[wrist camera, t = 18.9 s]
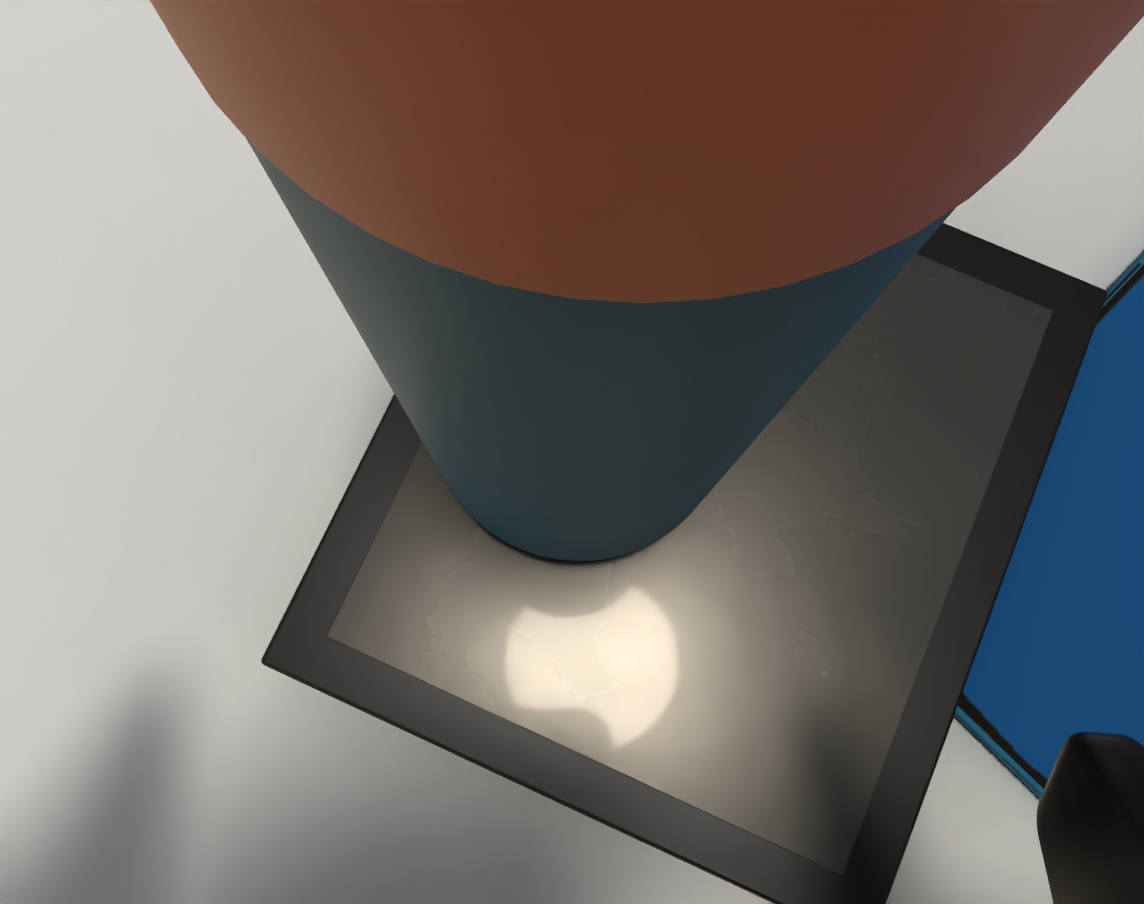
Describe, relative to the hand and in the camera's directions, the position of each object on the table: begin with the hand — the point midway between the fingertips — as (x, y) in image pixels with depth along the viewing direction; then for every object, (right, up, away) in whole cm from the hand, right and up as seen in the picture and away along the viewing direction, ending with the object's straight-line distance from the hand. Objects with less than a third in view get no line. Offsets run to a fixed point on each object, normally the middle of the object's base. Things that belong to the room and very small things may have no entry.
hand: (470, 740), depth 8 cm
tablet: (+3, +2, +8) cm, 9 cm away
